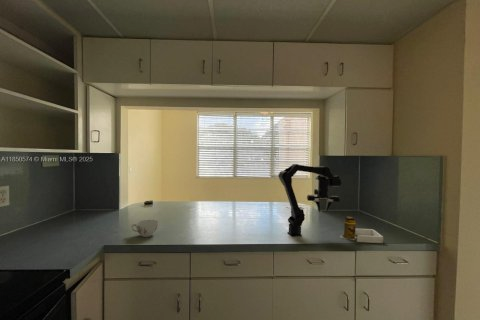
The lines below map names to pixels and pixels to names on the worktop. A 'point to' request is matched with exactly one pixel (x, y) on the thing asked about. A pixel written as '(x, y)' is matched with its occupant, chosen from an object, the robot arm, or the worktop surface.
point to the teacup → (146, 227)
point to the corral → (364, 238)
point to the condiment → (349, 228)
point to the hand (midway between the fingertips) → (322, 212)
